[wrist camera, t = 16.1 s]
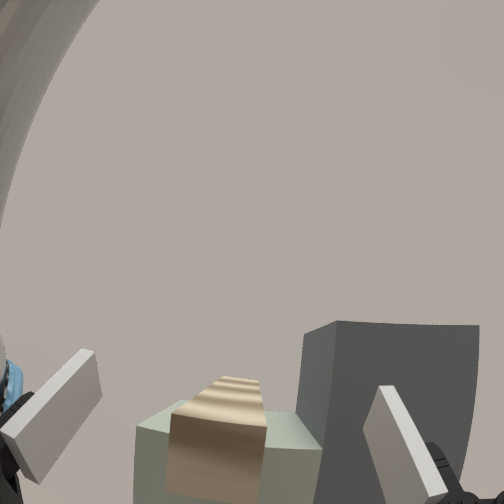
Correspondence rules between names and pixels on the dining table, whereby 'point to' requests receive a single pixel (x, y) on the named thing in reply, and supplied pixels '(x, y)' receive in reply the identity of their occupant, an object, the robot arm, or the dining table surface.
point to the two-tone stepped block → (344, 413)
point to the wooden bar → (218, 443)
